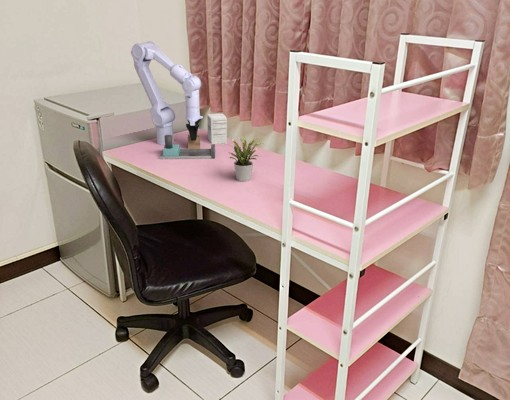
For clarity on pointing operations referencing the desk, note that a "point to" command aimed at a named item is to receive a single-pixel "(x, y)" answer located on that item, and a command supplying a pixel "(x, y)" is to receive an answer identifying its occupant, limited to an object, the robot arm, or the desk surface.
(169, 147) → the ram
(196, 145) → the wooden block with knob
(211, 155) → the tray
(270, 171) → the desk surface
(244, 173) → the house plant
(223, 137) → the supplement box
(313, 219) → the desk surface
